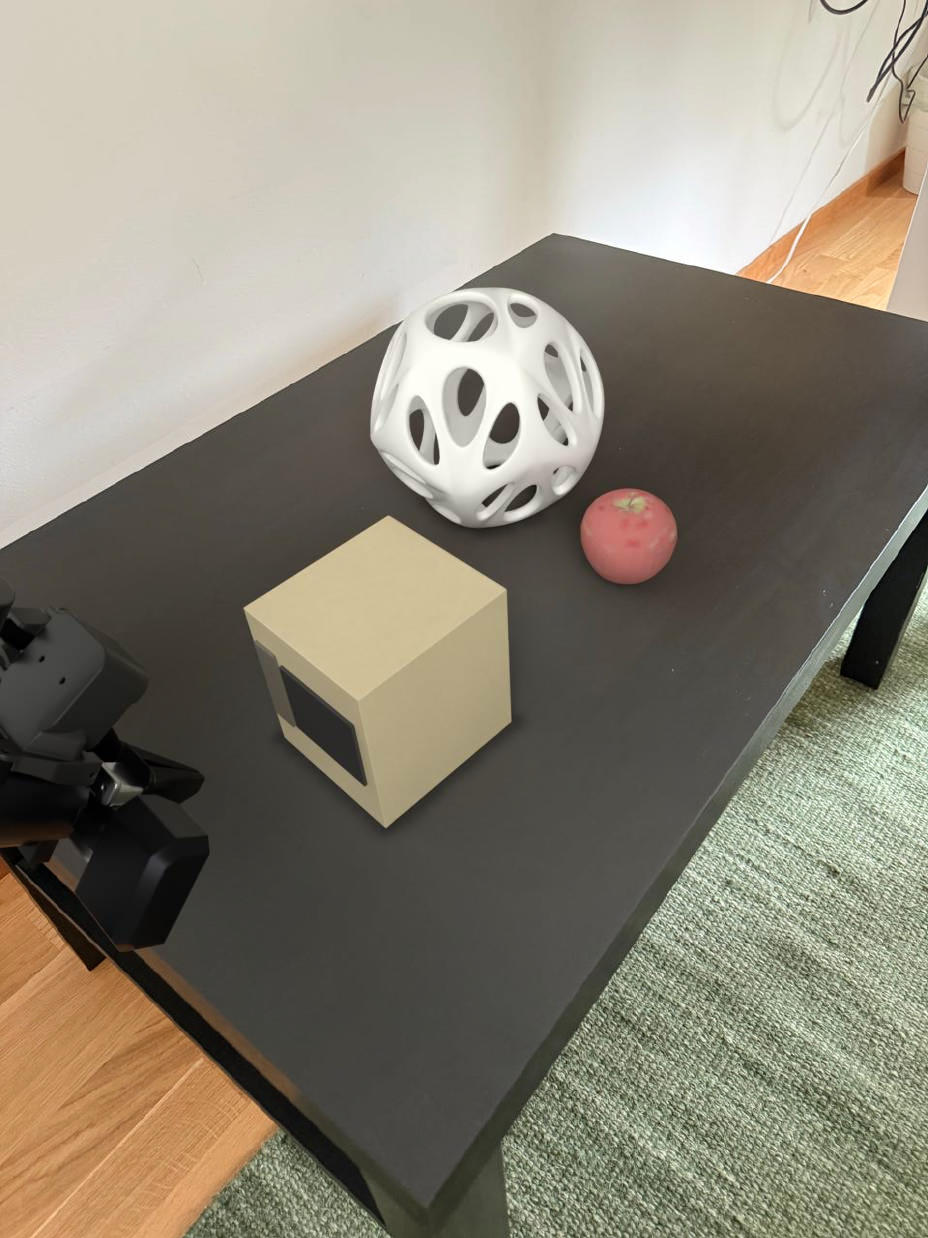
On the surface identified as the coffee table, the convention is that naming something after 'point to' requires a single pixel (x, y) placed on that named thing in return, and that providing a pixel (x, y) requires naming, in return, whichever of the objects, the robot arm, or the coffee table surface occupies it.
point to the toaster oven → (386, 664)
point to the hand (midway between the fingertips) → (198, 781)
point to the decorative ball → (488, 407)
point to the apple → (628, 535)
